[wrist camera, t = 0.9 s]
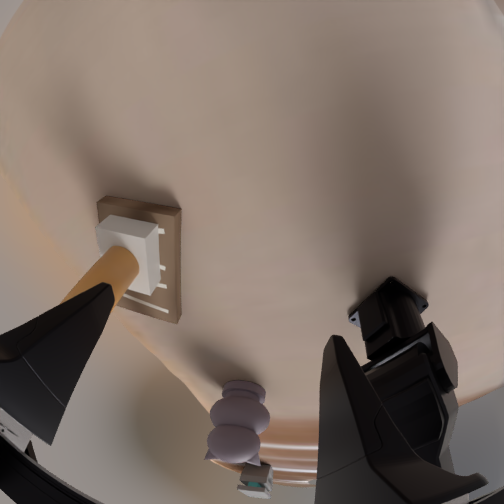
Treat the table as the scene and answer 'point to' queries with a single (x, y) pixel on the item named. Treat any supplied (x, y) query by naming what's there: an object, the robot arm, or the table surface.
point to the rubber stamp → (124, 258)
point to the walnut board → (169, 231)
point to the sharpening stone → (256, 480)
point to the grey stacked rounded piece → (238, 423)
